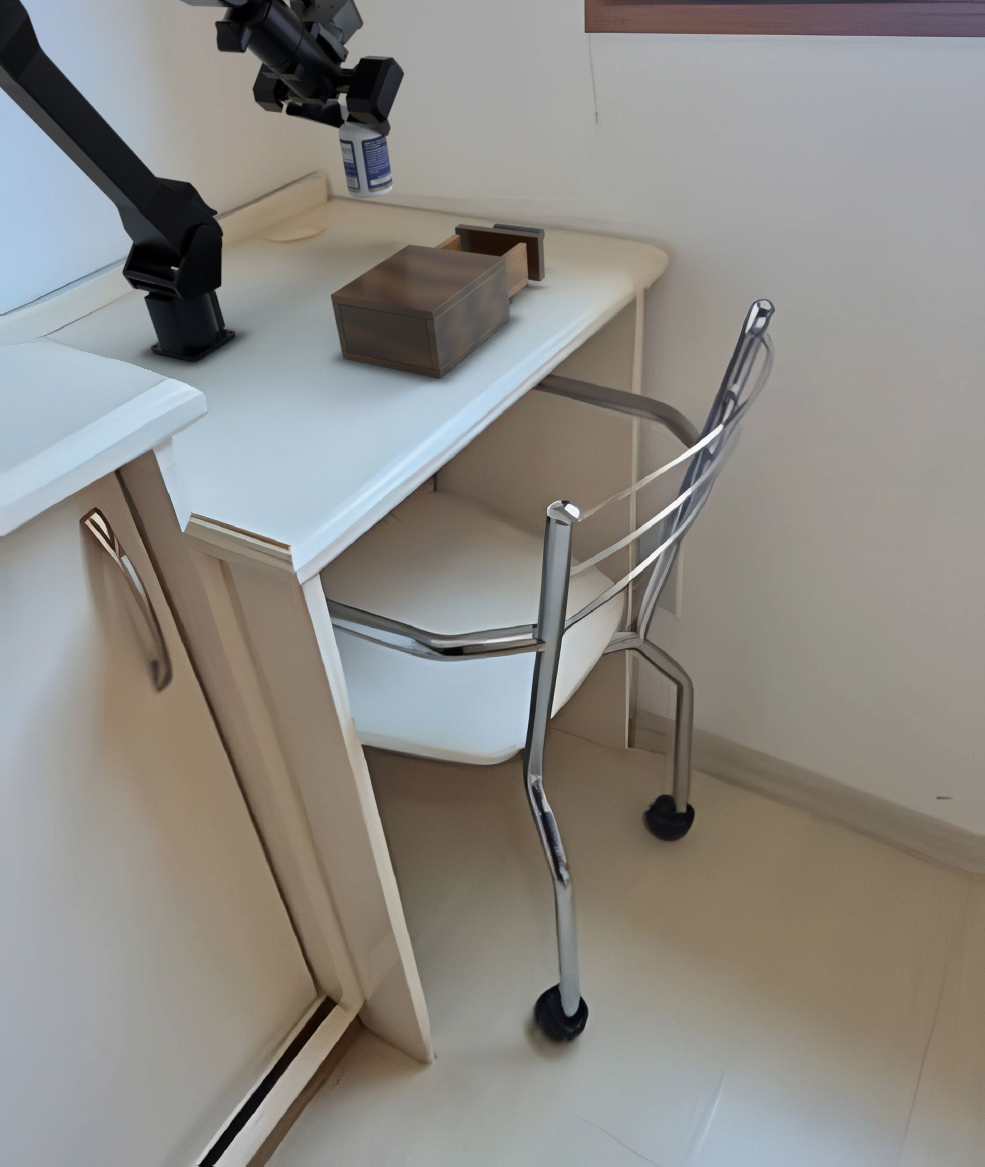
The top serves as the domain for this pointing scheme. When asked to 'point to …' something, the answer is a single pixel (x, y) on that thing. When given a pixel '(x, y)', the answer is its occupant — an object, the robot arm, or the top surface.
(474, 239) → the drawer
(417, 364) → the cabinet
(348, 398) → the top surface
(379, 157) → the pill bottle
